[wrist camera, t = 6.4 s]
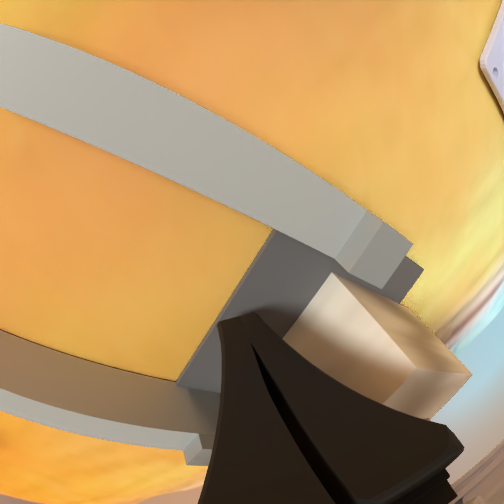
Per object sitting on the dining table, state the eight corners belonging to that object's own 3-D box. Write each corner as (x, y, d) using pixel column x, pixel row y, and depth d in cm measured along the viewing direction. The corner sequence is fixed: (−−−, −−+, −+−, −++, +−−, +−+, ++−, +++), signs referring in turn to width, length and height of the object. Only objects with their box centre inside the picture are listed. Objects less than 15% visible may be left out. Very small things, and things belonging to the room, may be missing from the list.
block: (408, 308, 14) (474, 377, 10) (336, 391, 16) (382, 463, 12) (331, 272, 11) (419, 371, 7) (248, 381, 13) (291, 483, 9)
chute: (350, 201, 10) (413, 244, 8) (202, 407, 14) (219, 465, 11) (-16, 21, 4) (-78, 5, 1) (-69, 322, 7) (-97, 379, 5)
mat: (421, 267, 14) (423, 269, 13) (302, 409, 16) (303, 412, 16) (300, 186, 10) (303, 188, 9) (166, 395, 12) (167, 399, 12)
